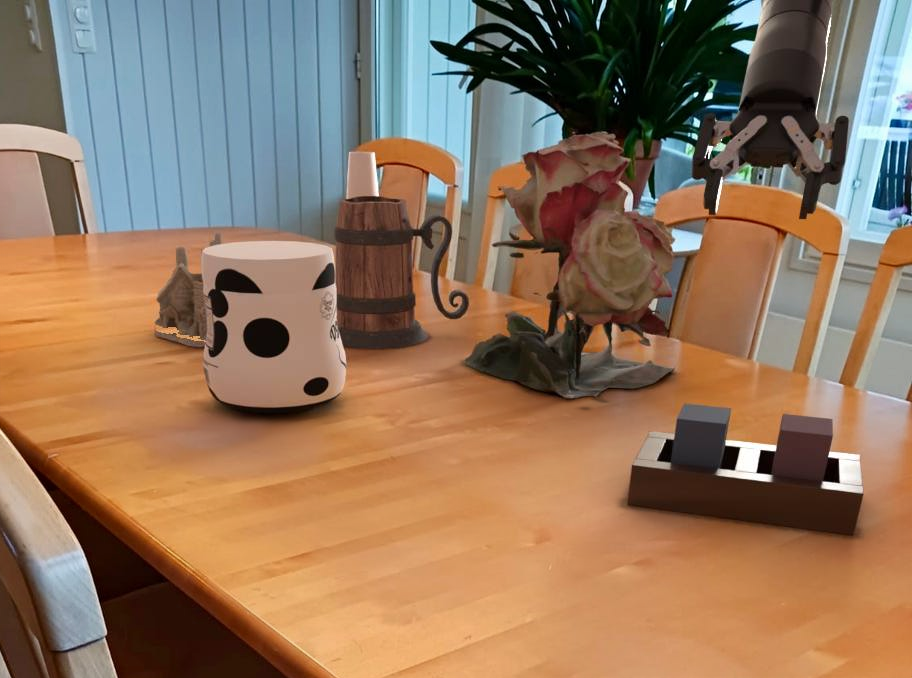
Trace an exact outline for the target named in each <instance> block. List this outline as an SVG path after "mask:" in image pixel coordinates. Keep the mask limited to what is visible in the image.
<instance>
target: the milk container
mask: <svg viewBox="0 0 912 678" xmlns="http://www.w3.org/2000/svg"><path fill="white" fill-rule="evenodd" d="M209 246H210V245H209ZM209 246H207V247H204V248H203V249H204V250H203V251H202V256H201V255H200V257H201V263H200V264H201V265H200V266H201V269H200V270H201V272H200V273H201V274H202V280H203V284H204V286H203V294H204V301H205V309H206V317H207V336H206V342H205V346H204V347H203V348H204V349H203V358H202V366H203V374H204V378H205V382H206V385H207V387H208V391H209V392H210V394H211V396H212V397H213V398H214V400H216V401H217V402H218V403H219V404H221V405H223V406H225V407H229V408H231V409H234V410H237V411H238V410H239V411H245V412H251V413H259V414H260V413H261V414H263V413H264V414H265V413H266V414H281V413H282V414H283V413H295V412H300V411H308V410H311V409H316V408H319V407H322V406H325V405H328V404H330V403H331V402H332V401H334V400H335V399H337V398H338V397H339V396H340V395H341V394H342V392H343V389H344V388H345V384H346V383H345V382H346V375H347V356H346V351H345V348H344V347H345V346H343V344H342V341H341V337H340V334H339V330H338V324H337V294H336V262H335V256H334V251H333V248H332V247H331V246H329V245H326V244H320V243H315V242H306V241H295V240H293V241H291V240H250V241H236V242H235V241H234V242H227V243H222V244H219V245H214V246H210V247H209Z"/></svg>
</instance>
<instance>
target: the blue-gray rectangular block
mask: <svg viewBox="0 0 912 678" xmlns="http://www.w3.org/2000/svg"><path fill="white" fill-rule="evenodd" d="M731 412H732V408H731V407H721V406H713V405H704V404H703V405H702V404H693V403H683V405H682V407H681V409H680V411H679V414H678V416H677V418H676V421H675V422H676V423H675V429H674V434H675V436H674V443H673V450H672V457H671V463H675V464H683V465H692V466H700V467H708V468H716V469H721V467H722V461H723V455H724V449H725V443H726V440H727V436H728V430H729V424H730V418H731Z"/></svg>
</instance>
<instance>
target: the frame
mask: <svg viewBox="0 0 912 678" xmlns="http://www.w3.org/2000/svg"><path fill="white" fill-rule="evenodd" d="M674 436H675V433H670V432H660V431H653V430H652V431H651V430H649V432H648V433H647V435H646V438H645V440H644V441H643V443H642V446H641V447H640V449H639V451H638V452H637V455H636V457H635V458H634V459H633V462H632V464H631V469H630V477H629V478H630V479H629V485H628V494H627V502H626V503H627V504H626V505H628V506H635V507H641V508H648V509H655V510H663V511H671V512H677V513H685V514H693V515H698V516H699V515H700V516H708V517H716V518H722V519H729V520H730V519H731V520H738V521H745V522H751V523H752V522H753V523H757V524H758V523H760V524H765V525H766V524H767V525H774V526H781V527H790V528H795V529H804V530H812V531H817V532H818V531H819V532H824V533H825V532H826V533H834V534H841V535H847V536H854V534H855V531H856V527H857V522H858V519H859V515H860V511H861V507H862V502H863V498H864V494H865V493H864V484H863V474H862V473H863V472H862V465H861V464H862V463H861V455H860V454H855V453H846V452H837V451H830V452H829V456H828V461H827V465H826V470H825V474H824V479H823V481H815V480H807V479H799V478H790V477H782V476H774V475H771V472H772V466H773V461H774V456H775V451H776V446H777V444H776V445H774V444H767V443H759V442H758V443H757V442H749V441H741V440H732V439H726V443H725V449H724V455H723V461H722V467H721V469H716V468H708V467H700V466H692V465H683V464H675V463H671V457H672V450H673V443H674Z"/></svg>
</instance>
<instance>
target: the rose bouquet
mask: <svg viewBox="0 0 912 678" xmlns="http://www.w3.org/2000/svg"><path fill="white" fill-rule="evenodd" d="M571 133H573V135H572V136H569V137H568V138H564V139H561V140H558V142H557V144H553V145H550V146H547V147H544V148H540V149H537V150H536V151H527V152H526V153H524V154H521V157H522V160H523V162H524V165H525V171H527V172H529V175H530V177H529V178H528V179H527V180H526V181H525V182H526V183H525V184H524V185H523V186H522V187H520V189H516V188H515V187H514V186H511V187H505V186H501V185H500V186H499V185H498V186H497V189H498V191H502V192H503V195H504V196H505V199H506V200H507V202H508V204H509V207H510V208H512V209H514V214H515V216H516V218H517V219H518V221H519V222H520V224H521V226H523V228H524V230H526V232H527V233H528V234H529V235H530V236H531V237H532V239H515V240H514V239H513V240H511V239H510V240H500V241H496V242H493V243H491V246H492V247H493V248H501V247H506V248H514V249H520V250H527V251H537V250H541V251H540V254H549V253H550V254H553V253H555V254H558V258H557V261H558V271H557V280H556V282H555V284H554V285H553V290H552V291H550V292H548V293H547V294H546V297H545V298H546V300H548V301H550V303H549V314H548V322H547V323H548V327H547V331H546V330H545V329H544V328H542V327H541V326H539V325H538V324H536V323H535V321H534V319H533V318H532V317H529V316H525V315H523V314H520V313H519V312H518V311H516V310H514V311H513V310H511V311H510V312H508V313H504V317H505V318H506V321H507V324H506V330H507V332H508V333H509V336H508V335H505V334H502V333H501V332H499V333H497V334H494V335H492V337H490V338H488V339H486V340H484V341H479V342H478V343H476V344H475V345H474V348H473V349H472V352H471V354H470V355H468V356H467V357H466V358H465V365H466V366H468V367H471V368H472V369H475V370H476V371H479V372H482V373H484V374H488V375H491V376H494V377H497V378H498V379H501V380H504V381H506V380H510V381H517V382H518V383H519V384H522V385H523V386H525V387H528V388H530V389H533V390H537V391H539V392H544V393H552V394H553V393H554V394H557V395H560V396H562V397H563V398H565V399H578V398H581V397H591V396H593V397H594V398H596V399H599V400H604V399H602V398H600V397H598V396H599V395H600V394H601V393H602V392H603V391H605V390H607V389H608V388H613V389H614V388H616V389H635V390H636V389H639V388H643V387H645V386H649V385H652V384H654V383H657V381H659V380H660V379H661V378H663V377H664V376H666V375H668V373H671V372H674V371H675V369H676V367H675V366H663V365H661V364H659V363H655V362H654V361H652V360H648V361H646V362H638V361H633V360H627V359H621V358H618V357H617V356H616V355H615V354H613V344H612V343H613V342H612V341H613V335H612V333H613V324H617V326H618V328H619V330H620V332H621V333H623V332H626V331H631V332H633V333H634V334H636V335H638V336H639V337H640V338H641V339H639V340H637V342H638V343H639V344H640V345H643V346H645V347H651V342H650V339H649V338H647V337H646V336H645V335H644V333H645V334H647V335H651V336H657V335H660V334H662V333H663V332H664V331H665V330H666V324H667V322H666V321H665V320H664V319H662V318H660V317H659V316H657V315H656V314H655V313H657V314H659V315H660V314H661V311H659V310H654V309H652V308H651V307H650V305H651V304H652V302H653V301H654V300H655V299H656V300H658V299H663V298H670V299H671V298H673V291H672V288H671V286H670V283H669V280H668V279H667V278H666V277H664V276H665V275H667V274H669V273H670V272H671V271H672V269H673V268H674V267H673V266H674V258H675V257H674V250H673V246H672V245H673V244H674V243H675V242H676V238H675V237H674V236H673V234H672V233H671V232H670V231H669V229H668V227H667V225H666V224H665V222H664V221H661V220H659V219H656V218H654V217H651V216H648V215H643V214H642V213H641V214H640V212H639V211H637V210H628V211H627V210H626V209H625V202H626V200H627V197H628V196H629V192H628V191H627V190H626V189H625V188H624V187H622V186H621V185H620V184H619V183H620V181H621V177H622V174H623V173H624V171H625V170H626V169H627V168H628V167H629V165H630V163H631V162H632V159H631V158H628V157H624V156H621V155H620V154H622V153H624V152H625V151H624V148H623V147H621V146H619V144H620V143H619V141H618V140H615V139H616V134H614V133H608V132H607V131H596V132H592V133H585V134H576V132H575V131H572V132H571ZM536 254H538V251H537V252H535V253H534V255H536ZM509 256H510V258H515V259H523V258H525V254H524V253H523V252H518V251H517V252H511V253H510V254H509ZM449 260H450V262H452V258H450V259H449ZM532 294H533V295H537V296H540V297H542V295H541V294H540V293H538V292H533V293H532ZM569 312H572V314H573V319H570V317H569V316H568V313H569ZM563 316H564V319H565V322H563V328H564V331H561V330H559V327H558V322H559V319H560V318H561V317H563ZM542 325H543V322H542ZM598 325H599V326H600V325H602V328H603V332H604V334H605V335H606V336H605V337H606V338H607V341H608V345H607V347H606V348H605V349H604V350H602V351H598V352H583V350H584V348H585V345H586V344H587V343H588V342H589V339H590V337H591V335H592V333H593V331H594V329H595V327H596V326H598Z"/></svg>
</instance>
